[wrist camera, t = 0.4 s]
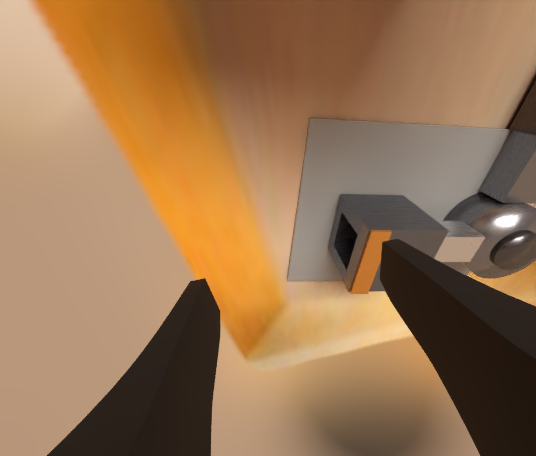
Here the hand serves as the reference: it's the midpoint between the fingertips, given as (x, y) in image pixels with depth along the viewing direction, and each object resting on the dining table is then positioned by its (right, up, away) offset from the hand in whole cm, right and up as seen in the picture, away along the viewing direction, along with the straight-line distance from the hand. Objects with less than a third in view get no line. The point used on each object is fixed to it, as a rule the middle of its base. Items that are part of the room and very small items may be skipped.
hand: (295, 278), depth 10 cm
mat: (+10, +3, +10) cm, 15 cm away
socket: (+7, +3, +10) cm, 12 cm away
